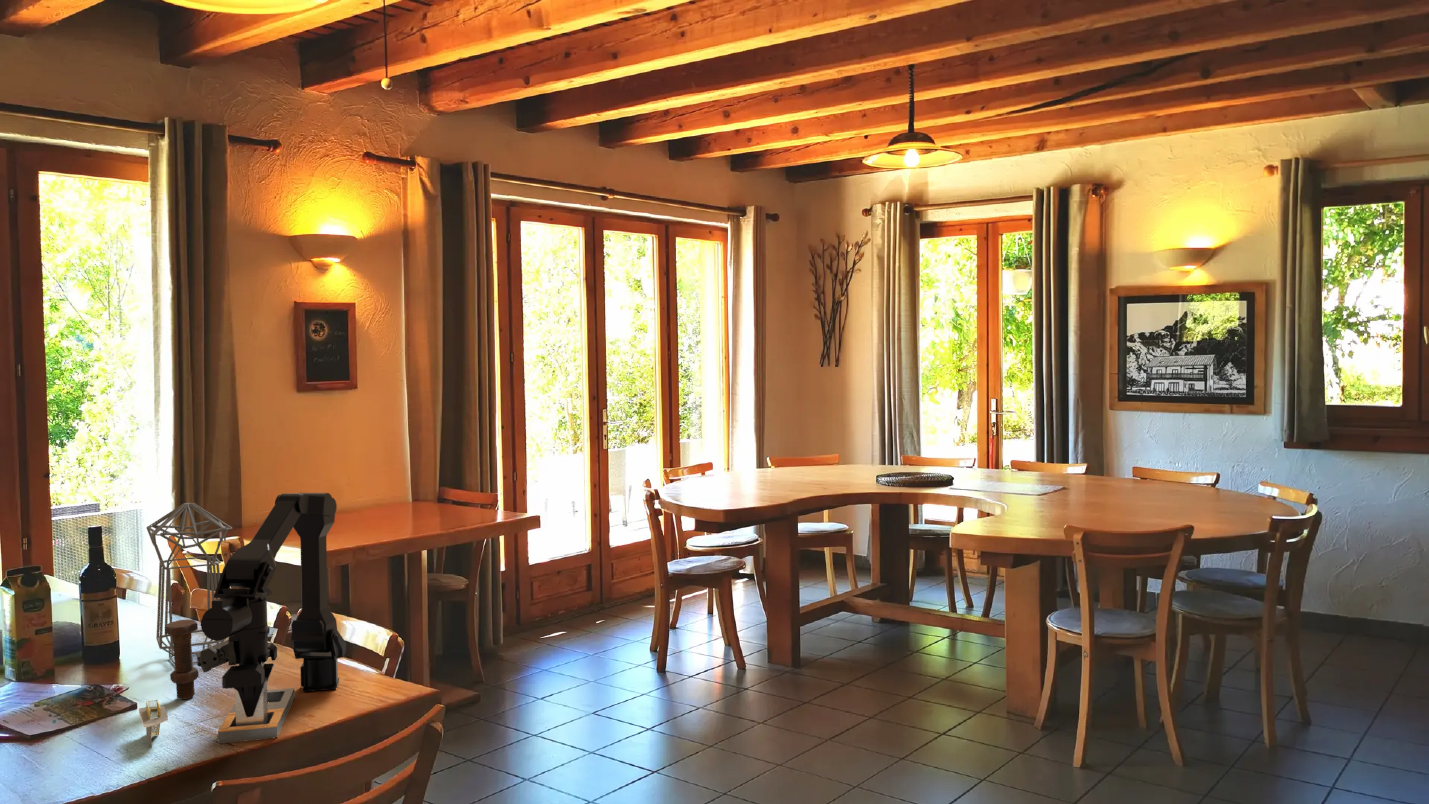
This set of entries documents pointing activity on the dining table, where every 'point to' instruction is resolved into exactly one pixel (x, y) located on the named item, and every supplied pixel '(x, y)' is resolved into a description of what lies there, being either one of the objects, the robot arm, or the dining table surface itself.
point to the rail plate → (276, 716)
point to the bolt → (183, 657)
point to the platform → (150, 723)
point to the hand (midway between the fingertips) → (252, 712)
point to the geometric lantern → (158, 528)
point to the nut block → (259, 714)
